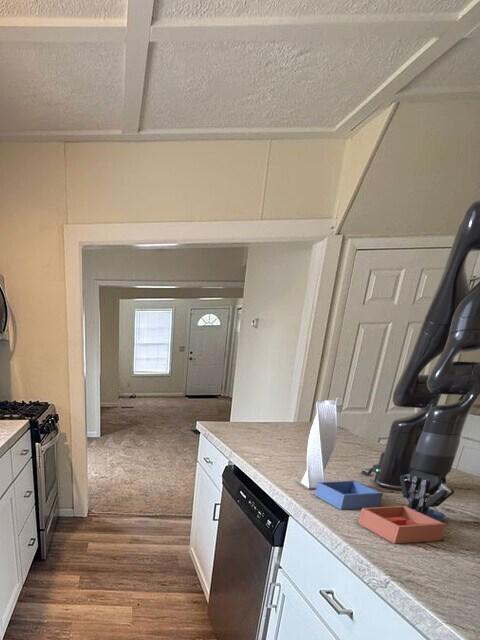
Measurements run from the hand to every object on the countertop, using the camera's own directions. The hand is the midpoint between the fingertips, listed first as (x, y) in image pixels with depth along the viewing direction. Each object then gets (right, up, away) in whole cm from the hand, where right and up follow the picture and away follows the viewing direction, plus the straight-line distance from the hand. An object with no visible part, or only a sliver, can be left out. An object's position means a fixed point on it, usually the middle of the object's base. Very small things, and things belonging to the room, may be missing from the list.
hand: (414, 517), depth 101 cm
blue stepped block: (+2, 0, 0) cm, 2 cm away
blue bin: (-9, +5, +13) cm, 17 cm away
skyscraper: (-12, +9, +26) cm, 30 cm away
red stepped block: (-10, -3, -6) cm, 12 cm away
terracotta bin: (-9, -3, -6) cm, 11 cm away
